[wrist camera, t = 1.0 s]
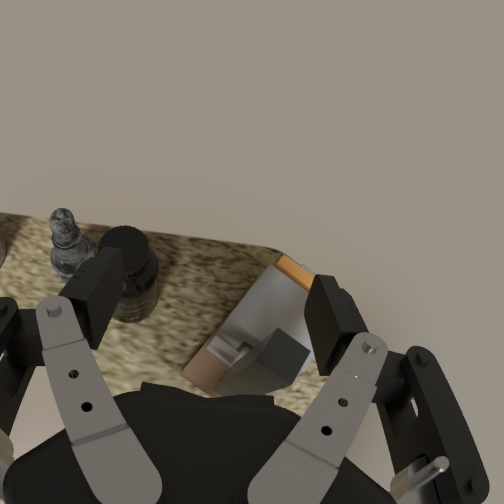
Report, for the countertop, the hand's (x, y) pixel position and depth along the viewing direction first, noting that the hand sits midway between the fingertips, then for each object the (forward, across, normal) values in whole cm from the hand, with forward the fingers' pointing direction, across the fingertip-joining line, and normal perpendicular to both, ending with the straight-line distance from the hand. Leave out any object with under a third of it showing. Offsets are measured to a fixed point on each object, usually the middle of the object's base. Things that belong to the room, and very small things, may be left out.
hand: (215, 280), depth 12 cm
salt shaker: (+20, +18, +15) cm, 31 cm away
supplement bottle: (+18, +10, +17) cm, 27 cm away
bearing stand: (+16, -5, +20) cm, 26 cm away
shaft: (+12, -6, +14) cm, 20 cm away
